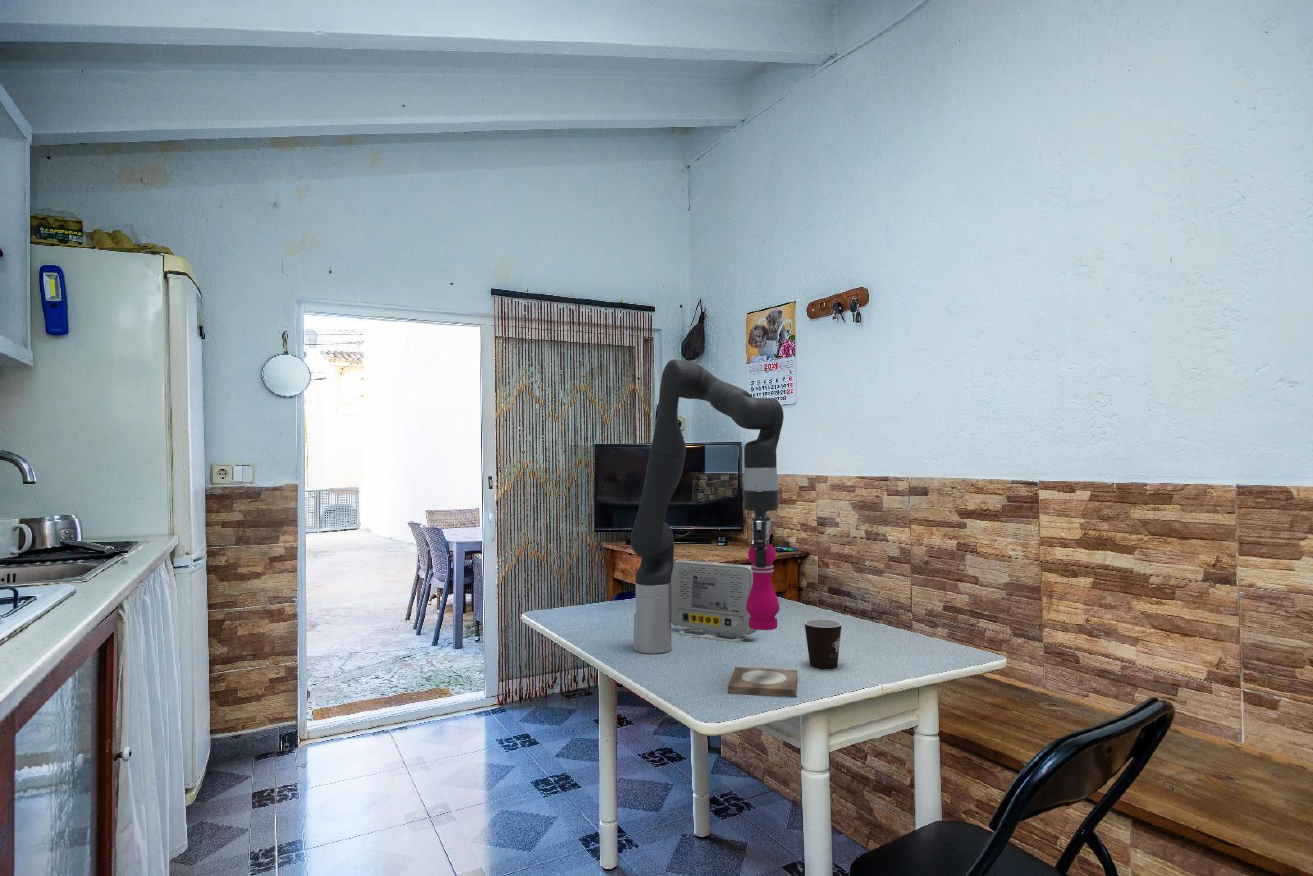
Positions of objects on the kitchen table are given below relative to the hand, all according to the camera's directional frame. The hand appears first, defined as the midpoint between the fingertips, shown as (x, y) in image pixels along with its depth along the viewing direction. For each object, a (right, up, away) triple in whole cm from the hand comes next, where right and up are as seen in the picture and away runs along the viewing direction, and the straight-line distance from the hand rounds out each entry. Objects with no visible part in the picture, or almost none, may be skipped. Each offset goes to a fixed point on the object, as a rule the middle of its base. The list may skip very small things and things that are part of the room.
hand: (761, 564), depth 157 cm
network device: (-7, -28, +43) cm, 51 cm away
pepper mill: (0, -14, 0) cm, 14 cm away
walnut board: (0, -26, -1) cm, 26 cm away
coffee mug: (+18, -26, +14) cm, 35 cm away
